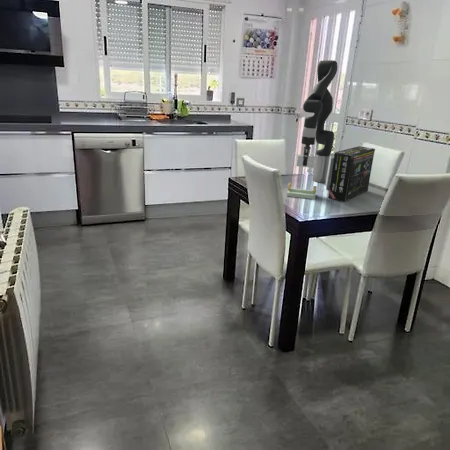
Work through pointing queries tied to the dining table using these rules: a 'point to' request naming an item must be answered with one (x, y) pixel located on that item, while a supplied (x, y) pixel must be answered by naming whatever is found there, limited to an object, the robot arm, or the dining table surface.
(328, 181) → the hard drive box
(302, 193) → the tray
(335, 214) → the dining table surface
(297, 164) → the block
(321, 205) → the dining table surface
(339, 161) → the router box
